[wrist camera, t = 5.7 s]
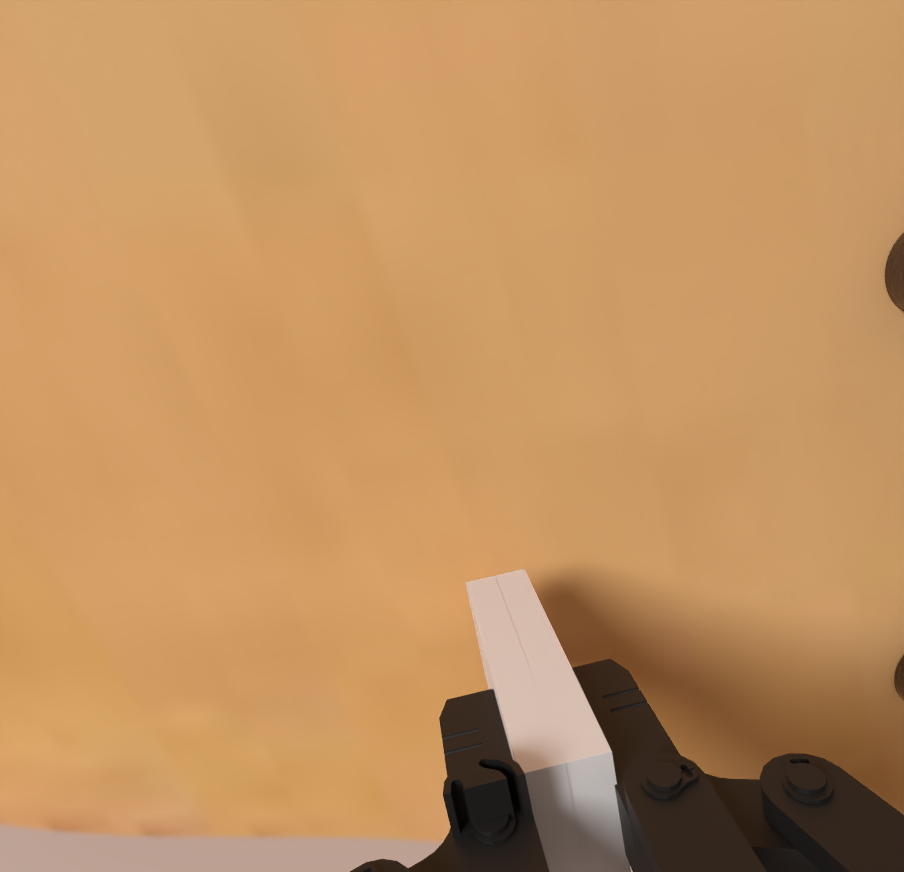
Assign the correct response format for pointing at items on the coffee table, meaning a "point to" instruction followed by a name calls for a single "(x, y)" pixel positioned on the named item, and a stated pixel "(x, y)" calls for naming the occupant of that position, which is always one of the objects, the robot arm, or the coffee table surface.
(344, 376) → the coffee table surface
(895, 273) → the post
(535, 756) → the robot arm
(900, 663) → the post
